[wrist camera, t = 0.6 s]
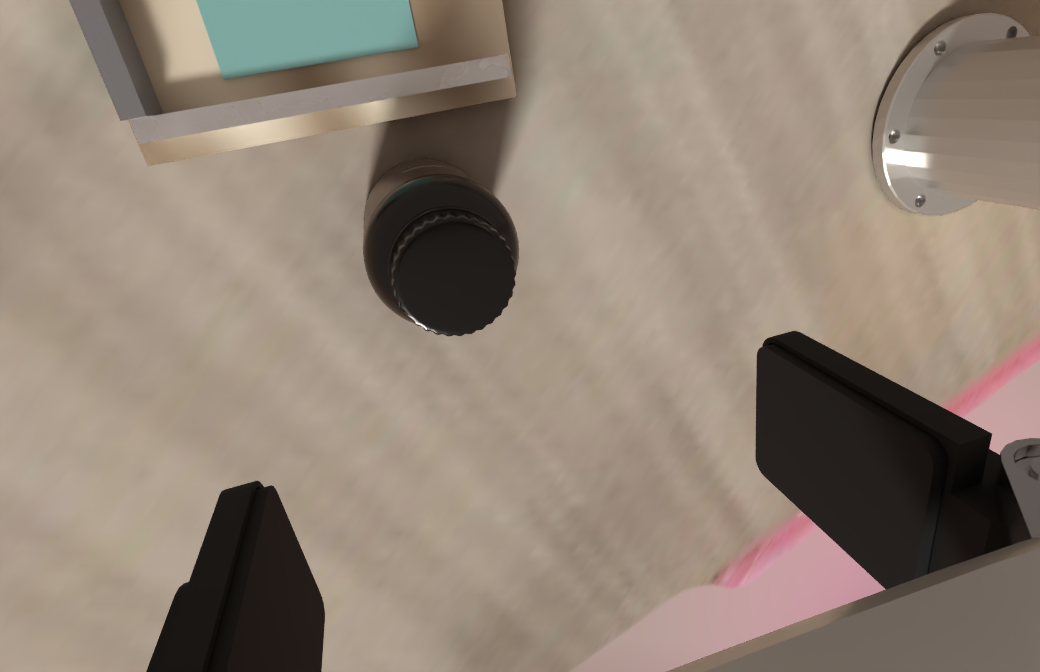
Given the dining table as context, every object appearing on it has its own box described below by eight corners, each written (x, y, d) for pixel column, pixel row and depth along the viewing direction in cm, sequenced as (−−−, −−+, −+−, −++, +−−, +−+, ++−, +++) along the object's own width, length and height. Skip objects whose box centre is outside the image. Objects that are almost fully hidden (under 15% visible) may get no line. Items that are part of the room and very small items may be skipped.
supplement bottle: (438, 131, 31) (483, 147, 20) (506, 233, 34) (576, 294, 23) (334, 205, 31) (324, 261, 20) (411, 301, 34) (438, 393, 23)
